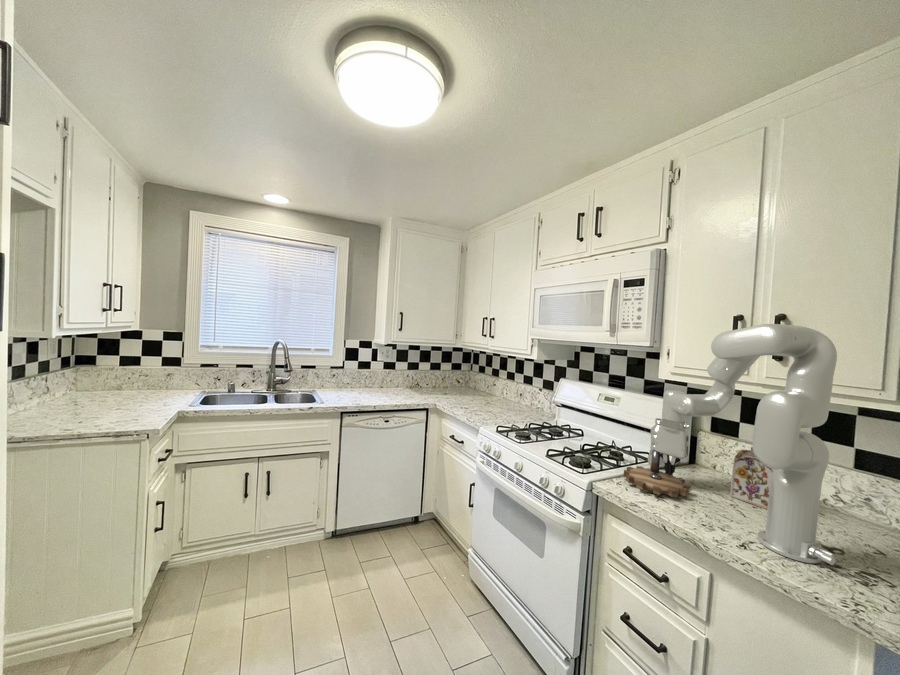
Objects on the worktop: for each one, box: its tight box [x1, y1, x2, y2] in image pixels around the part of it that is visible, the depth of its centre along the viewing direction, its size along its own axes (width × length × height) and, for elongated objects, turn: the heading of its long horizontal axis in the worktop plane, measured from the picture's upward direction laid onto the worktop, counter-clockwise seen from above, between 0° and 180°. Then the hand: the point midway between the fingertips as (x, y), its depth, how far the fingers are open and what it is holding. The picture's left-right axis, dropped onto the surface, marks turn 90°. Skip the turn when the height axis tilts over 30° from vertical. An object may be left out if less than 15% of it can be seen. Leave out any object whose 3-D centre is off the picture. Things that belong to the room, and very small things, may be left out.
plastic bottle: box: [647, 417, 665, 468], centre depth 149 cm, size 6×7×20 cm
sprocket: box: [623, 450, 691, 498], centre depth 128 cm, size 21×21×10 cm
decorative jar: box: [729, 447, 773, 511], centre depth 123 cm, size 12×12×18 cm
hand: (669, 473), depth 130 cm, fingers closed
